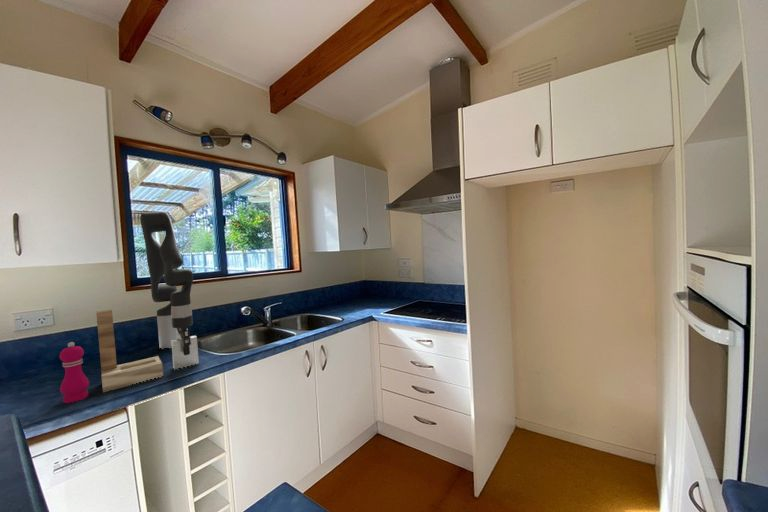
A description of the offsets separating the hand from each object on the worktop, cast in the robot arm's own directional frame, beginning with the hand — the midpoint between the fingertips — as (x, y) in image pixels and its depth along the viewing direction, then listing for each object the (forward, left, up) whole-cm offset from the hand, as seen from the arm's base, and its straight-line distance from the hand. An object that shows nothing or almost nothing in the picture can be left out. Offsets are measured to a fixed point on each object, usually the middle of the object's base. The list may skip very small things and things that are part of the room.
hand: (184, 352), depth 136 cm
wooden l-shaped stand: (0, -18, -6) cm, 19 cm away
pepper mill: (+5, -34, -6) cm, 35 cm away
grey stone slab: (0, 0, -6) cm, 6 cm away
